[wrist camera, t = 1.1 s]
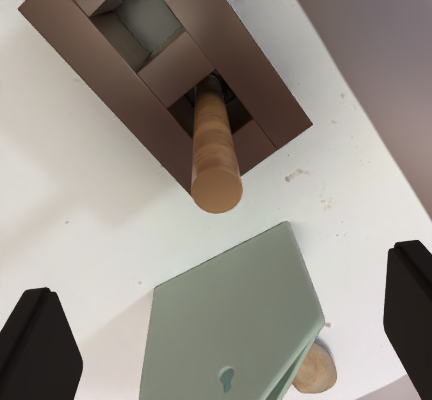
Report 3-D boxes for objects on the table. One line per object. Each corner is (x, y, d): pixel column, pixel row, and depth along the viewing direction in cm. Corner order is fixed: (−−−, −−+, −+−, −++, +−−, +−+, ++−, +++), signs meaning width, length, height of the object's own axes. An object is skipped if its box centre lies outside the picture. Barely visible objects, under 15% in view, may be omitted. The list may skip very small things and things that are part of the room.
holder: (155, -95, 29) (141, -121, 22) (290, 97, 36) (313, 124, 29) (57, 3, 32) (16, 9, 25) (199, 165, 39) (199, 206, 31)
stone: (330, 325, 52) (302, 337, 46) (357, 375, 50) (332, 395, 43) (288, 346, 55) (257, 360, 49) (312, 394, 53) (282, 415, 46)
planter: (191, 333, 48) (187, 531, 31) (153, 287, 45) (123, 481, 28) (319, 273, 45) (396, 458, 27) (287, 219, 42) (351, 390, 24)
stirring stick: (193, 76, 35) (187, 171, 17) (219, 72, 35) (240, 164, 17) (197, 102, 36) (195, 217, 18) (222, 98, 36) (245, 210, 18)
